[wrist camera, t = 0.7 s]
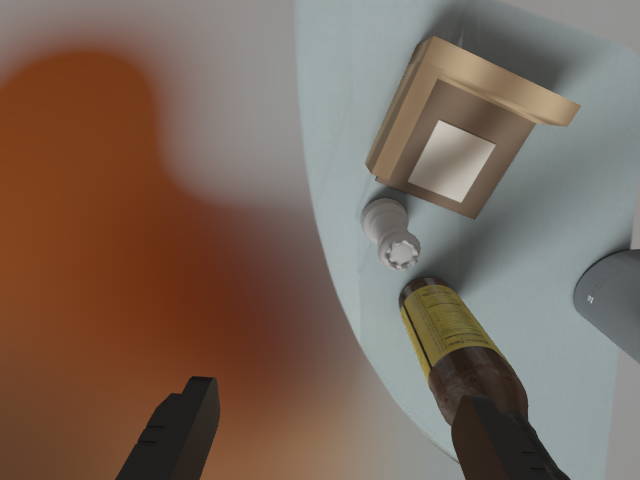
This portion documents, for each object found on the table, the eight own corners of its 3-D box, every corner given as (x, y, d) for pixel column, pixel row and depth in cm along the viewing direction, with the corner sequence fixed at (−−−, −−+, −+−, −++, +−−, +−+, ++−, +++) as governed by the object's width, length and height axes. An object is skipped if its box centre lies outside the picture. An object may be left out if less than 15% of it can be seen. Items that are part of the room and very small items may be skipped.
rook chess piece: (406, 194, 29) (434, 225, 22) (405, 237, 31) (431, 279, 23) (358, 198, 29) (370, 231, 22) (360, 241, 31) (372, 284, 24)
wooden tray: (544, 105, 26) (581, 105, 22) (473, 218, 30) (494, 234, 26) (416, 45, 24) (433, 35, 20) (360, 174, 28) (366, 185, 24)
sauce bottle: (437, 326, 35) (557, 563, 17) (387, 312, 35) (458, 545, 16) (465, 281, 33) (640, 505, 15) (412, 265, 32) (528, 480, 14)
